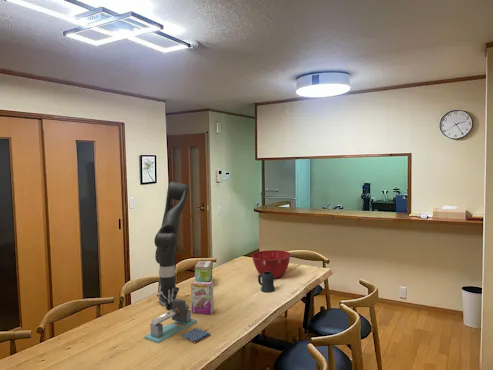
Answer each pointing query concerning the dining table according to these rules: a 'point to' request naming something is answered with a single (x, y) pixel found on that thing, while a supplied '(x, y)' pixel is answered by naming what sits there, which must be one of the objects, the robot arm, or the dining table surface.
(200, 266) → the tea box
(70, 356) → the dining table surface
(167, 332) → the base board
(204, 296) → the candy bar box
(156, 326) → the pipe
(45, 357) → the dining table surface
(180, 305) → the tall grey rectangular prism
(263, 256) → the mixing bowl
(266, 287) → the mug
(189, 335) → the woven mat
